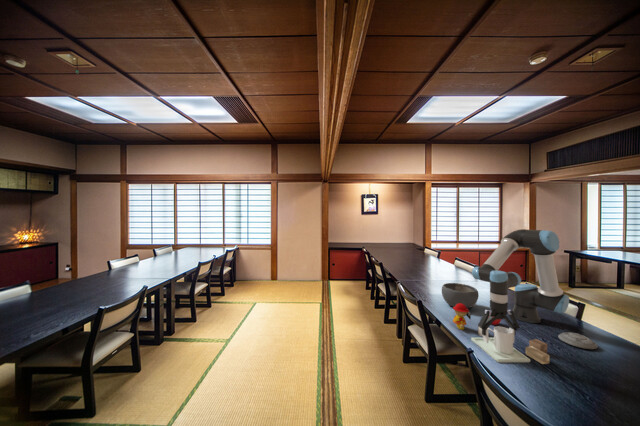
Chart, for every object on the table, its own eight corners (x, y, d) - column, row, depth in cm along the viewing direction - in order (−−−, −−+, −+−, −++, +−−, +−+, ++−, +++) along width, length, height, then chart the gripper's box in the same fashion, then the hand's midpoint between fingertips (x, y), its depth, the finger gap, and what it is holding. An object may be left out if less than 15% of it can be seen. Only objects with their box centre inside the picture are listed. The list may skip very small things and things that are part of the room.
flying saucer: (591, 354, 123) (592, 344, 123) (553, 340, 136) (553, 331, 136) (602, 347, 130) (602, 337, 130) (564, 334, 143) (564, 325, 143)
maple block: (532, 354, 123) (532, 346, 123) (549, 363, 115) (549, 355, 115) (525, 354, 123) (525, 346, 122) (542, 364, 115) (542, 356, 115)
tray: (499, 340, 136) (499, 337, 136) (530, 362, 116) (530, 359, 116) (471, 340, 136) (471, 337, 136) (497, 362, 116) (497, 359, 116)
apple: (482, 320, 161) (482, 305, 161) (497, 321, 159) (497, 306, 159) (488, 326, 153) (488, 310, 153) (503, 327, 151) (504, 311, 151)
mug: (511, 348, 126) (511, 328, 127) (514, 356, 120) (514, 335, 120) (483, 342, 132) (483, 323, 133) (485, 349, 126) (484, 329, 126)
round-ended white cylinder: (484, 332, 144) (484, 322, 144) (490, 337, 139) (490, 326, 139) (476, 332, 144) (476, 322, 144) (481, 337, 139) (481, 326, 139)
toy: (472, 332, 144) (472, 307, 144) (456, 331, 146) (456, 306, 146) (465, 324, 155) (465, 301, 155) (450, 322, 157) (450, 299, 157)
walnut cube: (536, 348, 128) (536, 339, 128) (547, 353, 123) (547, 344, 123) (529, 349, 127) (529, 340, 127) (540, 355, 122) (540, 345, 122)
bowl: (478, 304, 189) (478, 285, 189) (478, 315, 168) (478, 294, 168) (443, 298, 202) (443, 280, 202) (439, 308, 181) (440, 288, 181)
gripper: (516, 298, 130) (516, 337, 130) (470, 298, 129) (470, 337, 130) (528, 303, 122) (528, 344, 122) (479, 303, 122) (479, 345, 122)
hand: (498, 341), depth 126 cm, fingers open, 13 cm apart
